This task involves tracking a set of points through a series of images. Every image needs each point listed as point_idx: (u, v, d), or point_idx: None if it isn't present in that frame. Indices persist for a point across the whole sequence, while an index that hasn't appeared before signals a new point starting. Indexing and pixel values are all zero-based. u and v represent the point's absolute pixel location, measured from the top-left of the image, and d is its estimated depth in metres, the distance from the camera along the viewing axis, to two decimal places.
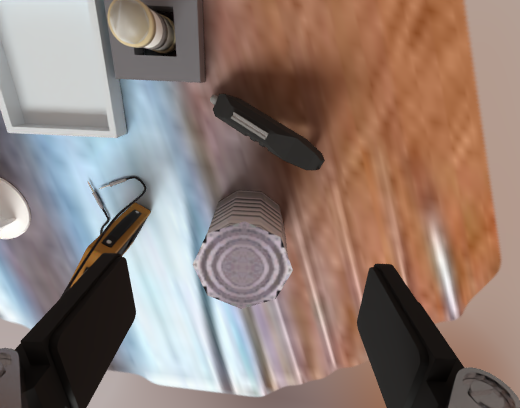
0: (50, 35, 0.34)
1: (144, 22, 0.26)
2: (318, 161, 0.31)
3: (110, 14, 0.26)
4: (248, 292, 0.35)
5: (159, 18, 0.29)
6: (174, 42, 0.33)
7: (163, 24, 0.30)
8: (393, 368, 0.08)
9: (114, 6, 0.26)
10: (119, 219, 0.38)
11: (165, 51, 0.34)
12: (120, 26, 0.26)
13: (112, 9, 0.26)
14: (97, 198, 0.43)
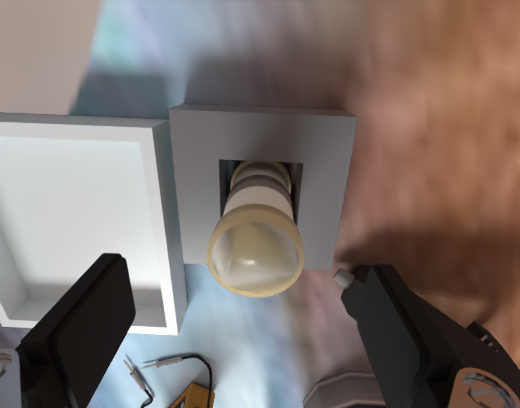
0: (69, 187, 0.19)
1: (288, 261, 0.12)
2: None
3: (213, 248, 0.11)
4: None
5: (289, 203, 0.15)
6: None
7: None
8: (393, 368, 0.08)
9: (225, 235, 0.11)
10: None
11: None
12: (232, 266, 0.12)
13: (220, 240, 0.11)
14: (137, 379, 0.29)
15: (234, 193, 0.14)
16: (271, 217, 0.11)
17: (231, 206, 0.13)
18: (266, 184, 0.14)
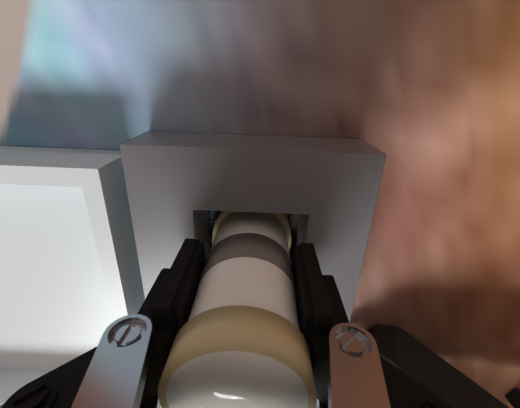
0: (3, 236, 0.15)
1: (291, 403, 0.07)
2: None
3: (168, 385, 0.07)
4: None
5: (290, 280, 0.10)
6: None
7: (294, 282, 0.11)
8: None
9: (186, 369, 0.07)
10: None
11: None
12: None
13: (178, 374, 0.07)
14: None
15: (211, 266, 0.10)
16: (263, 340, 0.07)
17: (203, 296, 0.09)
18: (256, 253, 0.10)
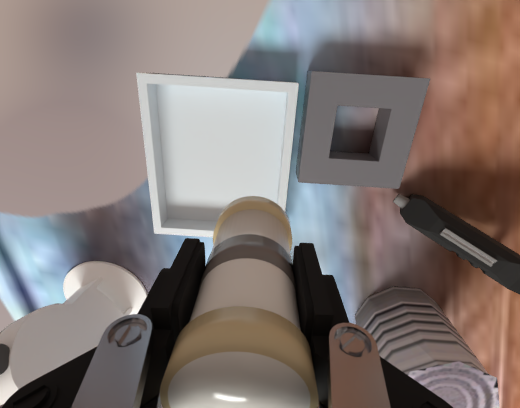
0: (220, 128, 0.28)
1: (292, 404, 0.07)
2: None
3: (169, 386, 0.07)
4: None
5: (291, 281, 0.10)
6: None
7: (295, 283, 0.11)
8: None
9: (188, 370, 0.07)
10: None
11: None
12: None
13: (180, 375, 0.07)
14: None
15: (212, 267, 0.10)
16: (265, 340, 0.07)
17: (205, 297, 0.09)
18: (258, 254, 0.10)
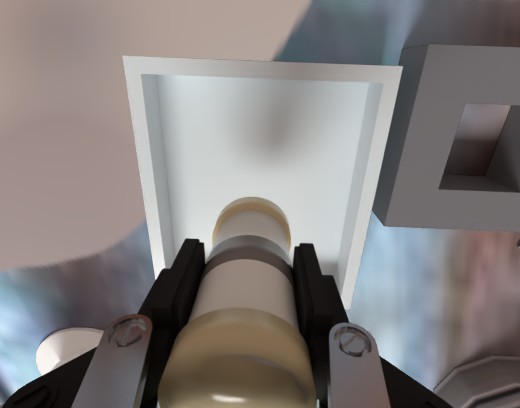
0: (258, 144, 0.18)
1: (290, 406, 0.07)
2: None
3: (167, 388, 0.07)
4: None
5: (290, 282, 0.10)
6: None
7: None
8: (299, 330, 0.09)
9: (186, 371, 0.07)
10: None
11: None
12: None
13: (178, 377, 0.07)
14: None
15: (211, 268, 0.10)
16: (263, 342, 0.07)
17: (203, 298, 0.09)
18: (256, 255, 0.10)
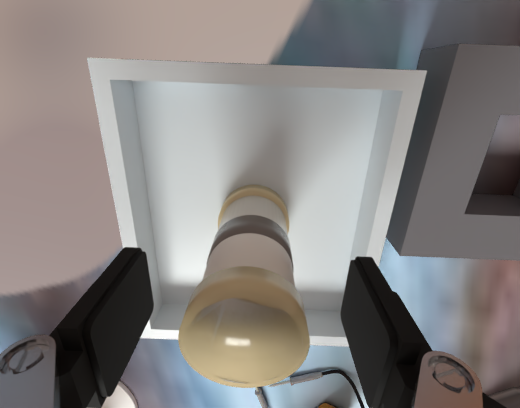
0: (253, 160, 0.16)
1: (288, 346, 0.09)
2: None
3: (187, 330, 0.08)
4: None
5: (288, 254, 0.12)
6: None
7: (291, 257, 0.12)
8: (369, 355, 0.09)
9: (203, 314, 0.08)
10: None
11: None
12: (213, 351, 0.09)
13: (196, 320, 0.08)
14: (262, 399, 0.24)
15: (219, 241, 0.12)
16: (265, 289, 0.08)
17: (214, 263, 0.10)
18: (259, 230, 0.12)
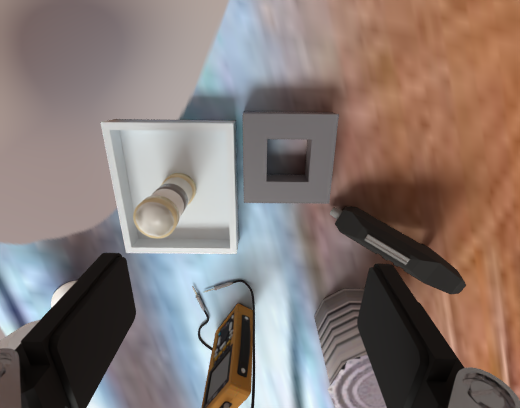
0: (176, 161, 0.34)
1: (169, 219, 0.27)
2: (463, 285, 0.30)
3: (135, 214, 0.26)
4: None
5: (180, 197, 0.30)
6: (192, 198, 0.34)
7: (184, 199, 0.30)
8: (393, 368, 0.08)
9: (140, 208, 0.26)
10: (237, 333, 0.37)
11: None
12: (145, 223, 0.27)
13: (138, 211, 0.26)
14: (200, 301, 0.42)
15: None
16: (159, 199, 0.26)
17: None
18: (168, 187, 0.30)
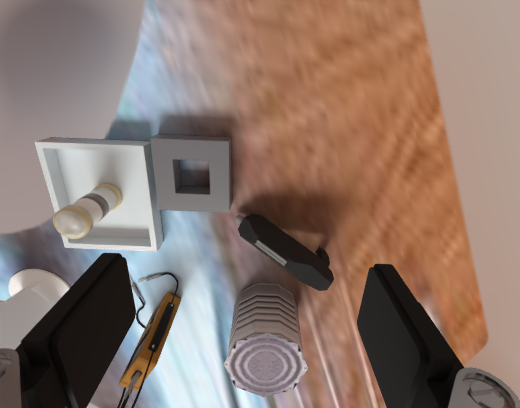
0: (103, 173, 0.40)
1: (81, 224, 0.33)
2: (329, 284, 0.37)
3: (55, 220, 0.33)
4: (269, 384, 0.42)
5: (99, 205, 0.36)
6: (118, 204, 0.41)
7: (103, 206, 0.37)
8: (393, 368, 0.08)
9: (57, 215, 0.33)
10: (158, 317, 0.44)
11: (111, 210, 0.41)
12: (63, 226, 0.34)
13: (56, 217, 0.33)
14: (135, 289, 0.49)
15: (76, 201, 0.36)
16: (72, 209, 0.33)
17: None
18: (89, 197, 0.36)
